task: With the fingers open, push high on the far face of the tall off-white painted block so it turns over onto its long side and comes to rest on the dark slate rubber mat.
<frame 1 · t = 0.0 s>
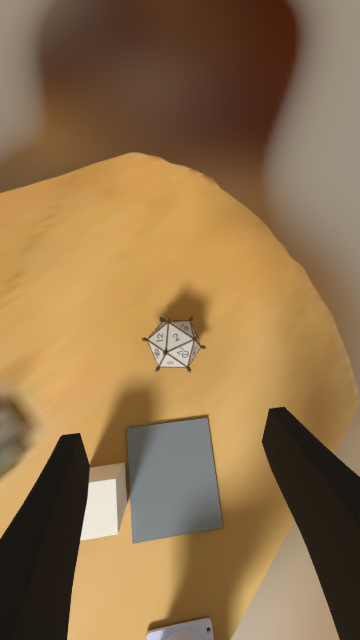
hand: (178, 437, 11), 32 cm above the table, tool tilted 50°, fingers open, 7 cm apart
slate mat: (172, 475, 39), on the table
tall block: (107, 485, 38), on the table
game die: (172, 349, 45), on the table
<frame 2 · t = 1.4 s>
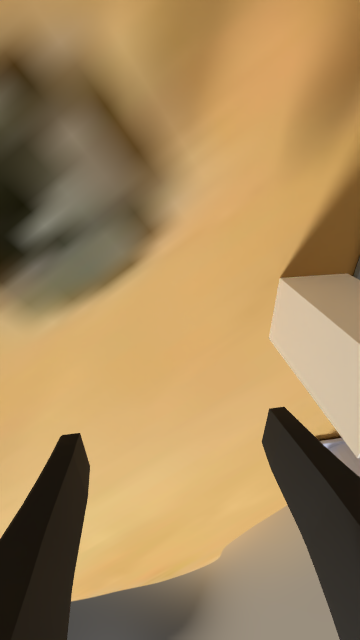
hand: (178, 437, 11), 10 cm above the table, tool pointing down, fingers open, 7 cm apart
tall block: (306, 307, 20), on the table
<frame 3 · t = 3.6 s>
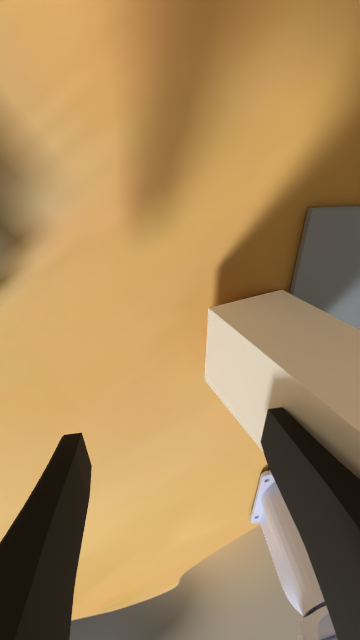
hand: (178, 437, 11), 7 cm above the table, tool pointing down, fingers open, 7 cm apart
tall block: (242, 335, 17), point 1 cm above the table, tilted 18°, touching gripper
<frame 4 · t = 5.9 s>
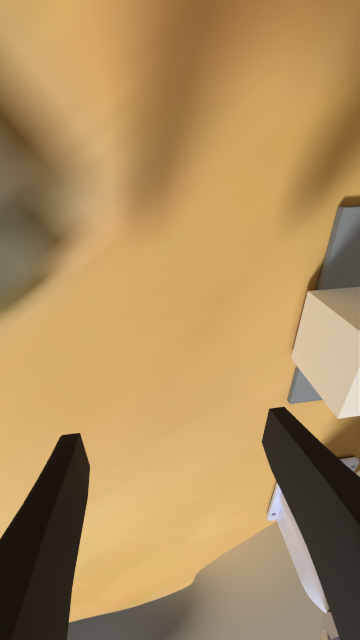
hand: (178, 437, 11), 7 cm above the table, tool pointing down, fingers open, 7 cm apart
tall block: (321, 351, 15), point 3 cm above the table, tilted 90°, touching slate mat
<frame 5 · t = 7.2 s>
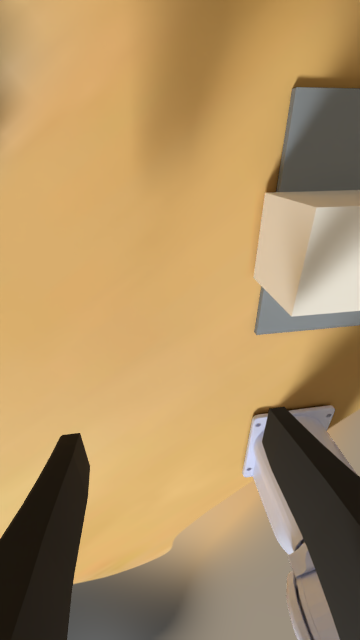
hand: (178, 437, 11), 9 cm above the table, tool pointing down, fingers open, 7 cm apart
slate mat: (358, 232, 18), on the table
tall block: (277, 251, 14), point 3 cm above the table, tilted 90°, touching slate mat
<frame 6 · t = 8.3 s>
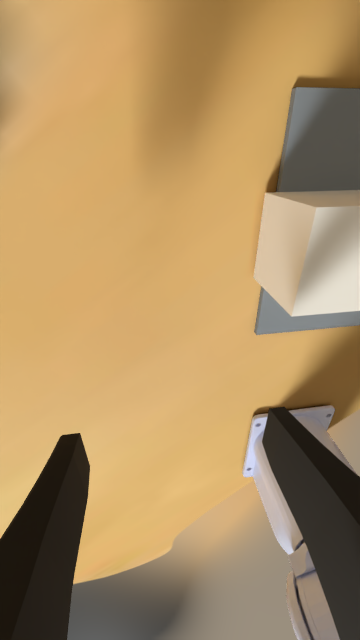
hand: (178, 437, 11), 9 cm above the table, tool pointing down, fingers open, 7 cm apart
slate mat: (358, 232, 18), on the table
tall block: (277, 251, 14), point 3 cm above the table, tilted 90°, touching slate mat
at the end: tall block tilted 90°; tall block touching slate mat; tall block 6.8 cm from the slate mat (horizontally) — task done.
